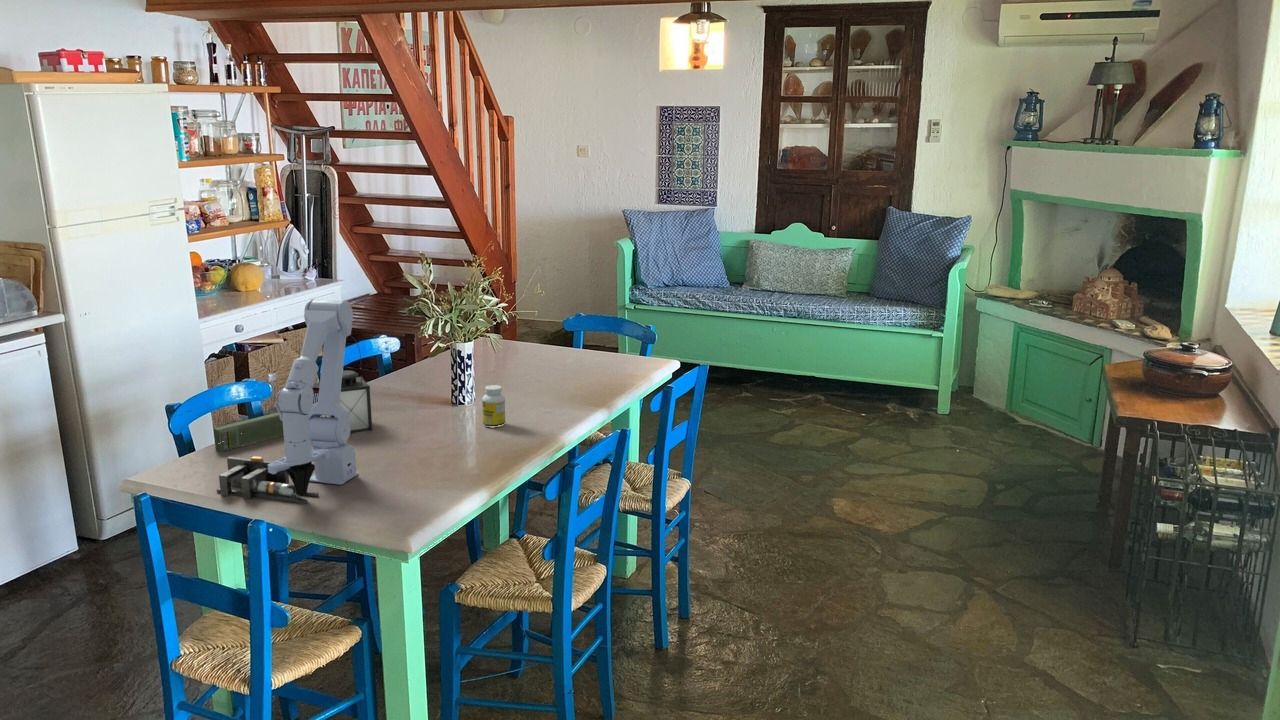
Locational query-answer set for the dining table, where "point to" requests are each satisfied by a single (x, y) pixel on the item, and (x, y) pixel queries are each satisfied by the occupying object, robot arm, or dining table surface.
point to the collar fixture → (249, 471)
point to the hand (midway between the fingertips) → (301, 494)
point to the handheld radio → (248, 431)
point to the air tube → (274, 489)
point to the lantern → (356, 400)
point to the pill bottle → (493, 406)
